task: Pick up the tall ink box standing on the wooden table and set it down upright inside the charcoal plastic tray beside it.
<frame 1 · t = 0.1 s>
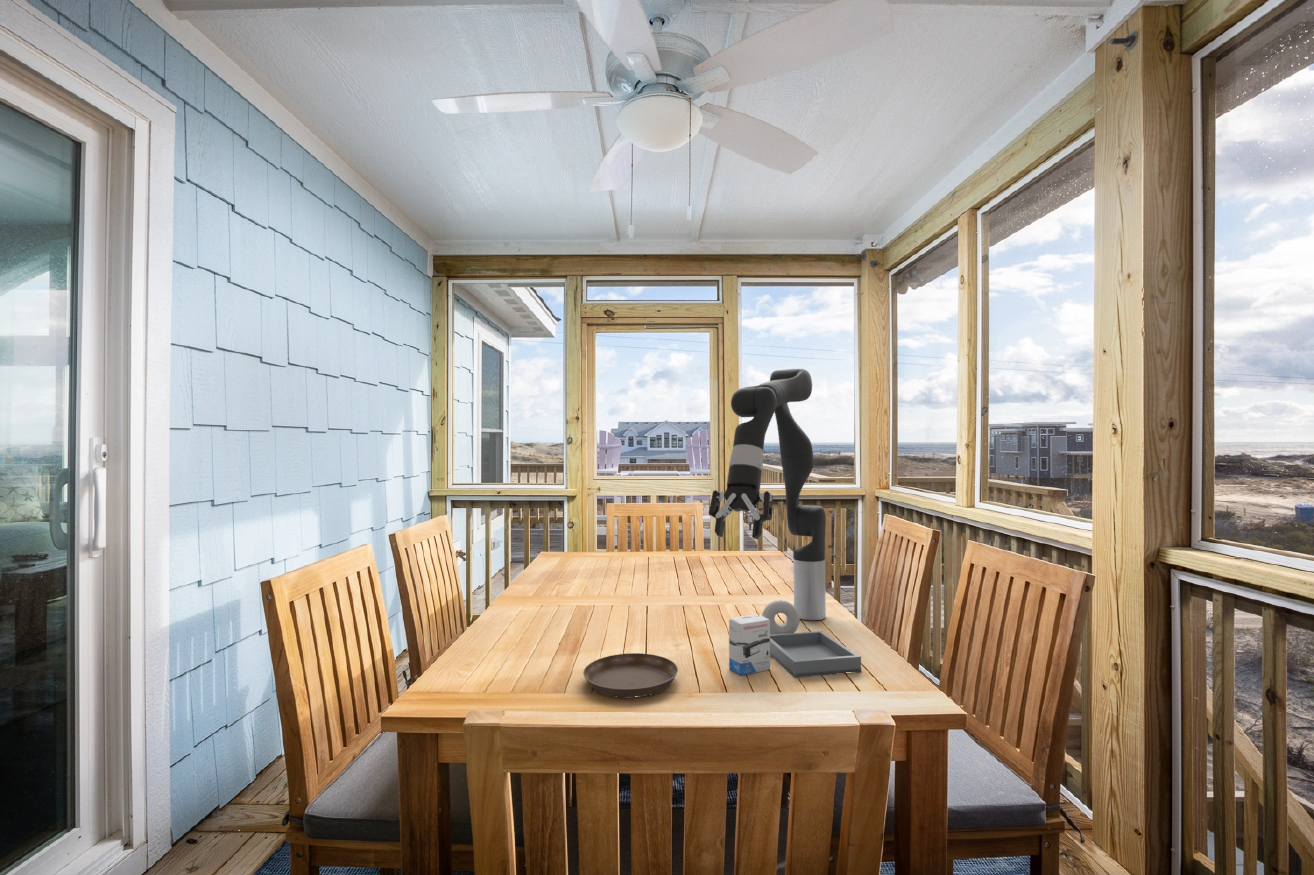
hand: (736, 537, 139), 31 cm above the table, tool tilted 20°, fingers open, 8 cm apart
tray: (809, 659, 150), on the table
ink box: (749, 670, 144), on the table
plant saucer: (630, 684, 137), on the table
donut: (780, 638, 168), on the table
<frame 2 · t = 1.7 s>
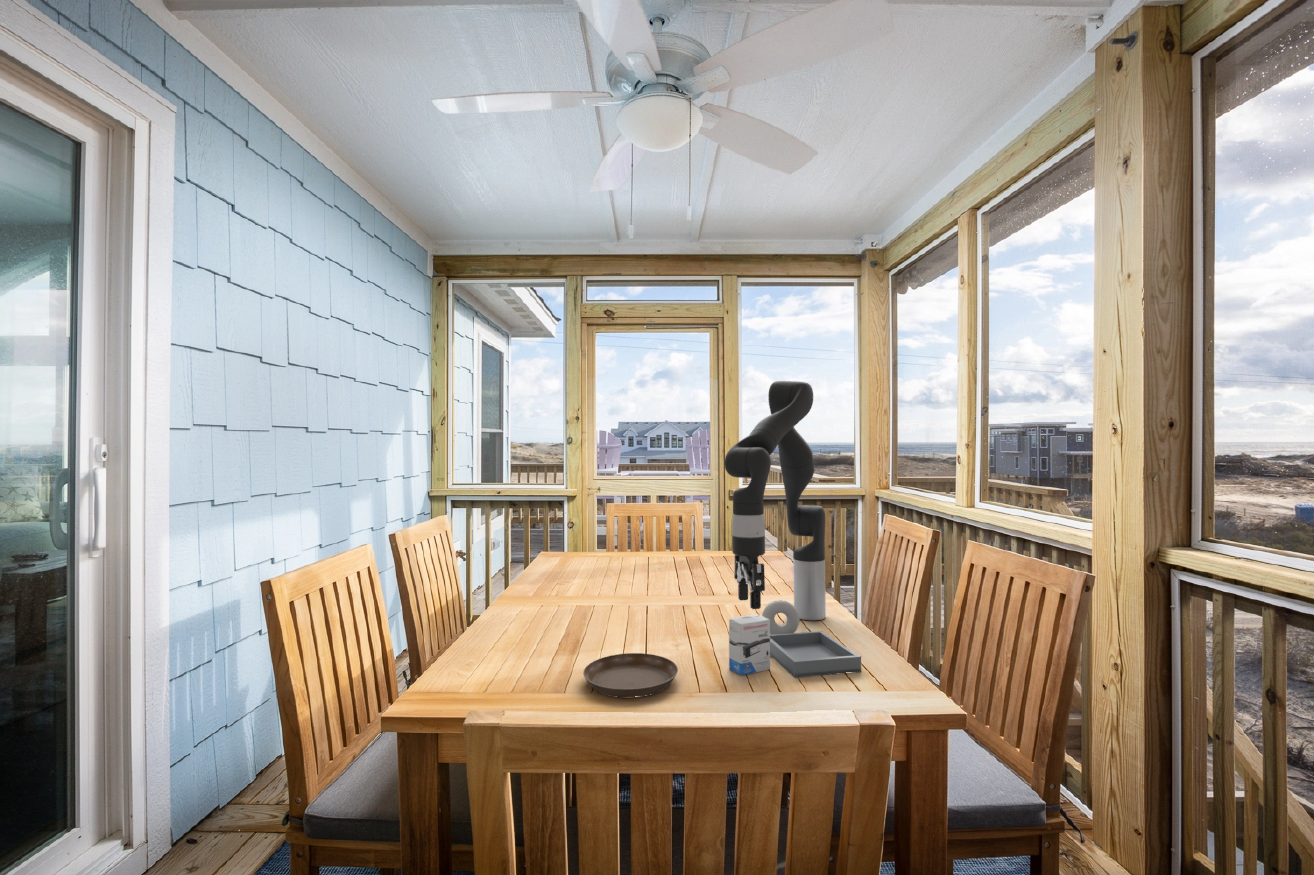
hand: (749, 604, 145), 15 cm above the table, tool pointing down, fingers open, 8 cm apart
nothing on the table moved.
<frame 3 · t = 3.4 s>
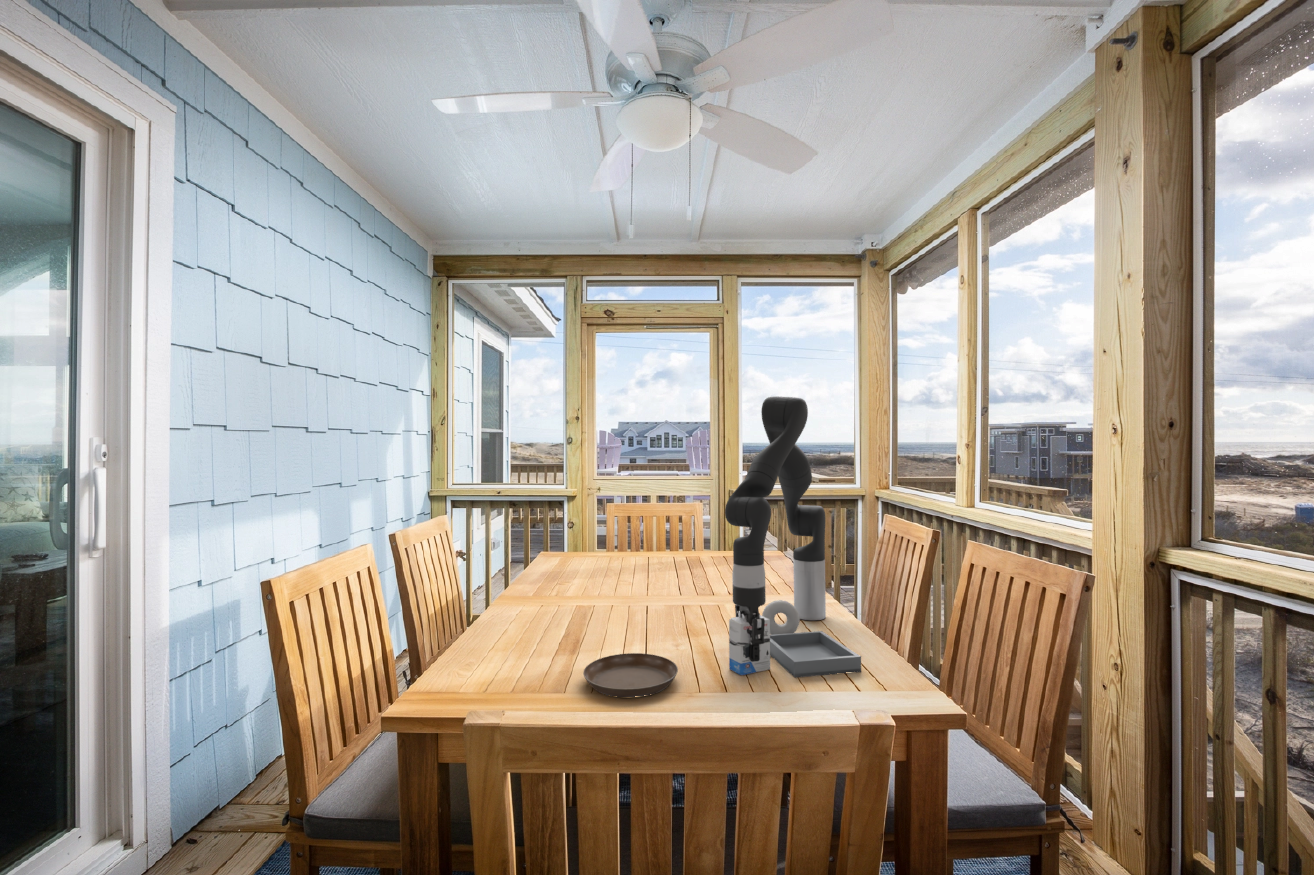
hand: (749, 655, 144), 3 cm above the table, tool pointing down, fingers closed on ink box, 6 cm apart
ink box: (750, 670, 144), on the table, touching gripper
everything else where it was.
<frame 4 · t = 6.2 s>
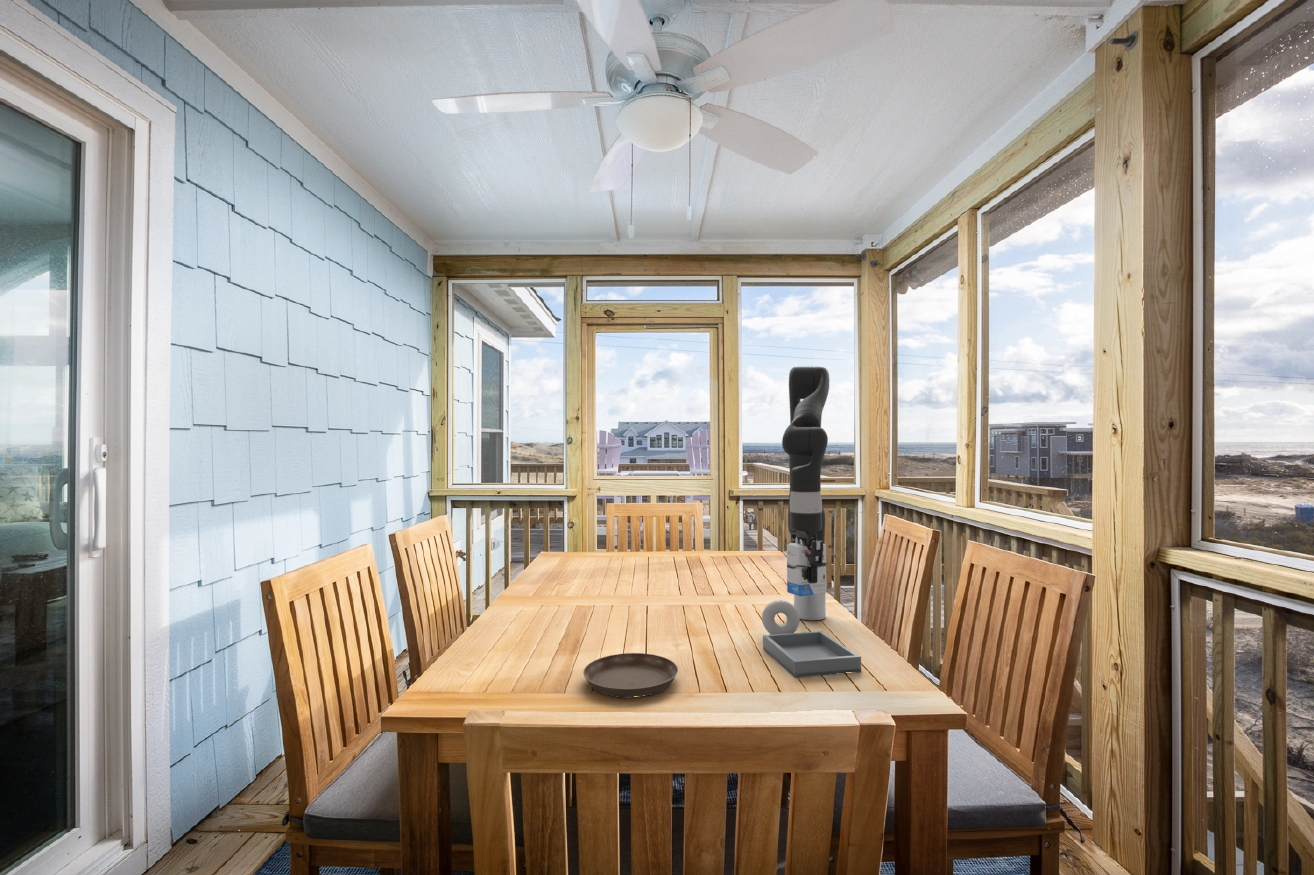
hand: (806, 579, 151), 19 cm above the table, tool pointing down, fingers closed on ink box, 5 cm apart
ink box: (807, 593, 151), point 16 cm above the table, touching gripper
everything else where it was.
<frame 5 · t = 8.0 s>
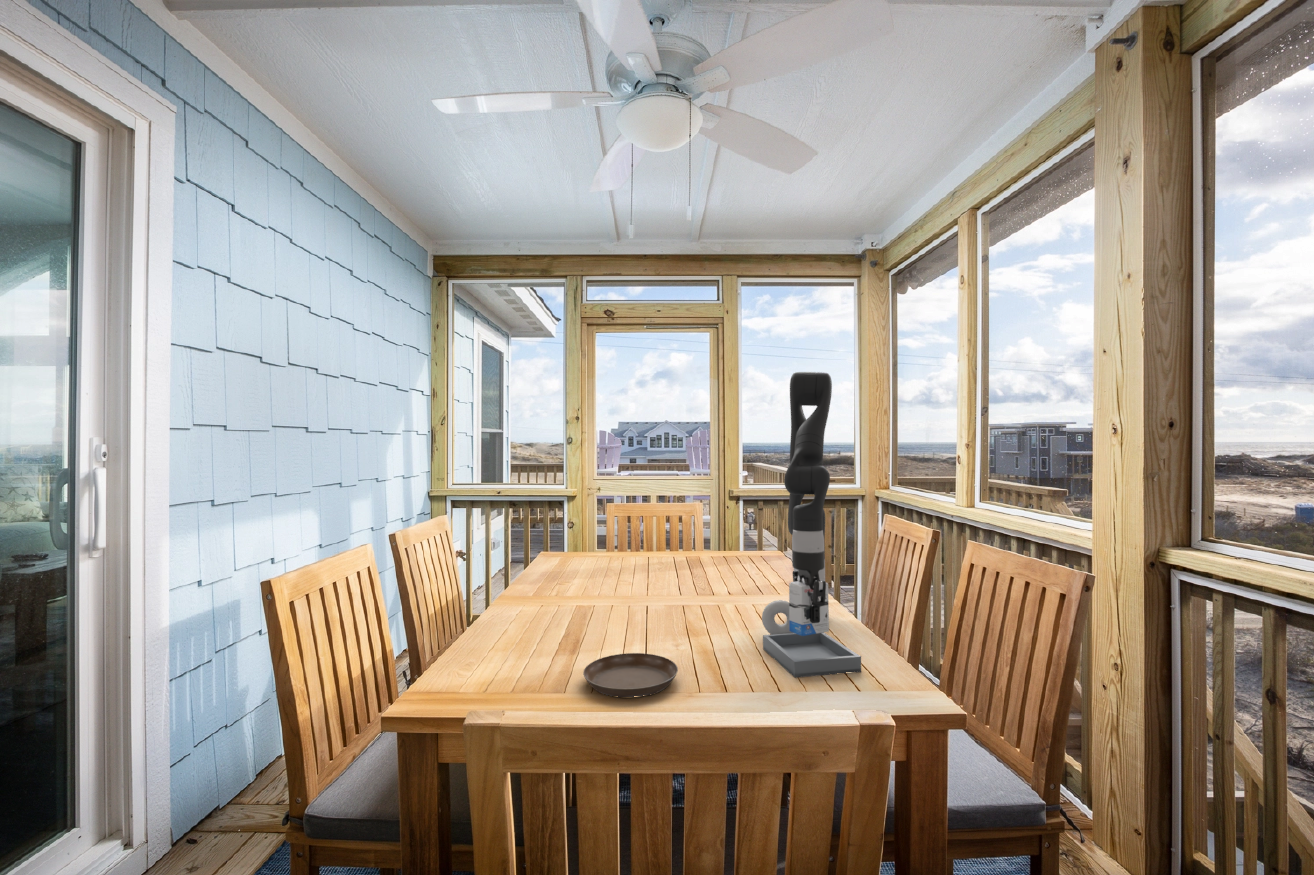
hand: (809, 618, 150), 10 cm above the table, tool pointing down, fingers closed on ink box, 5 cm apart
ink box: (809, 632, 150), point 7 cm above the table, touching gripper
everything else where it was.
when the fingers open (5 cm above the table, at t = 9.4 s): ink box drops 2 cm, resting on tray.
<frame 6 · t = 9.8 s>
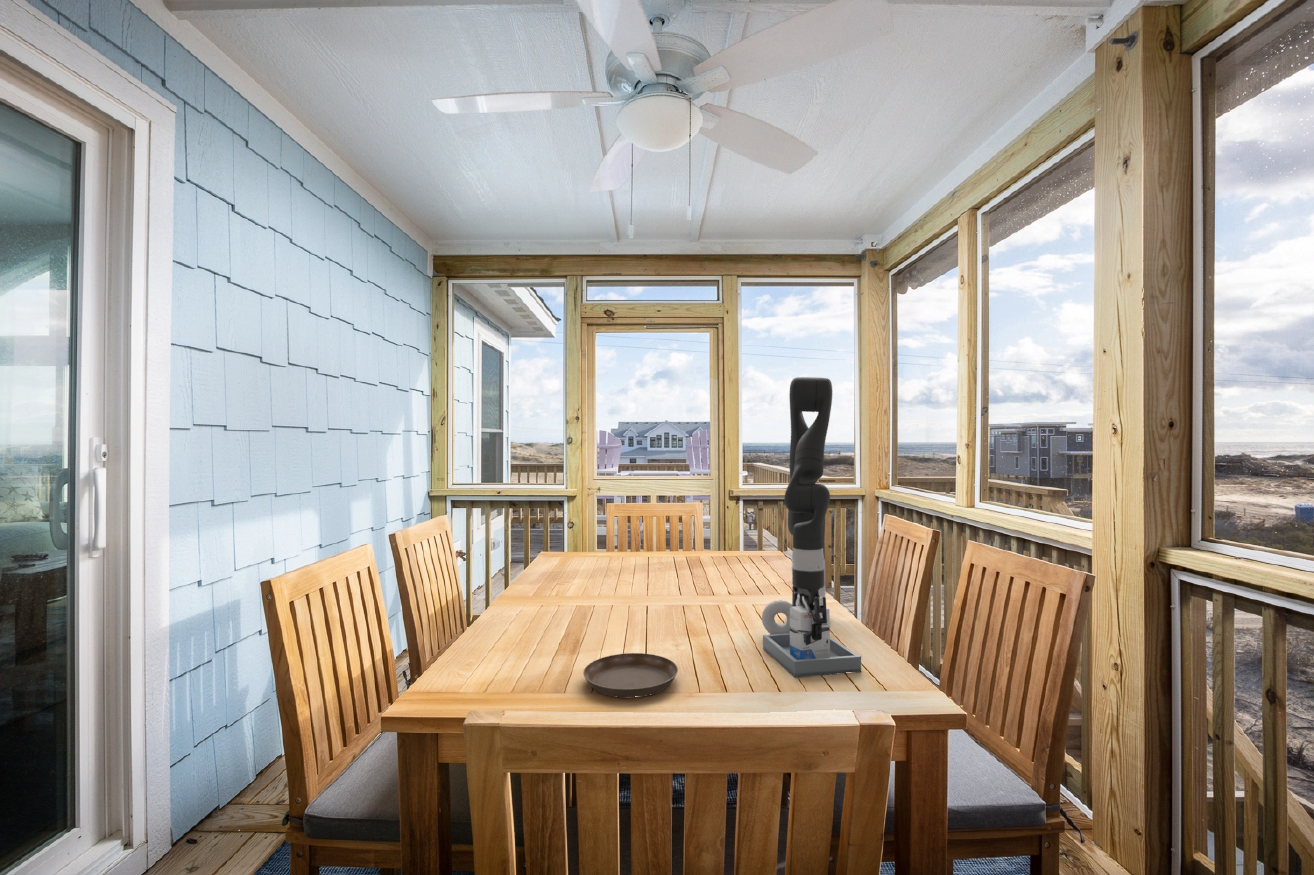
hand: (809, 634, 150), 6 cm above the table, tool pointing down, fingers open, 8 cm apart
ink box: (810, 657, 150), point 1 cm above the table, touching tray
everything else where it was.
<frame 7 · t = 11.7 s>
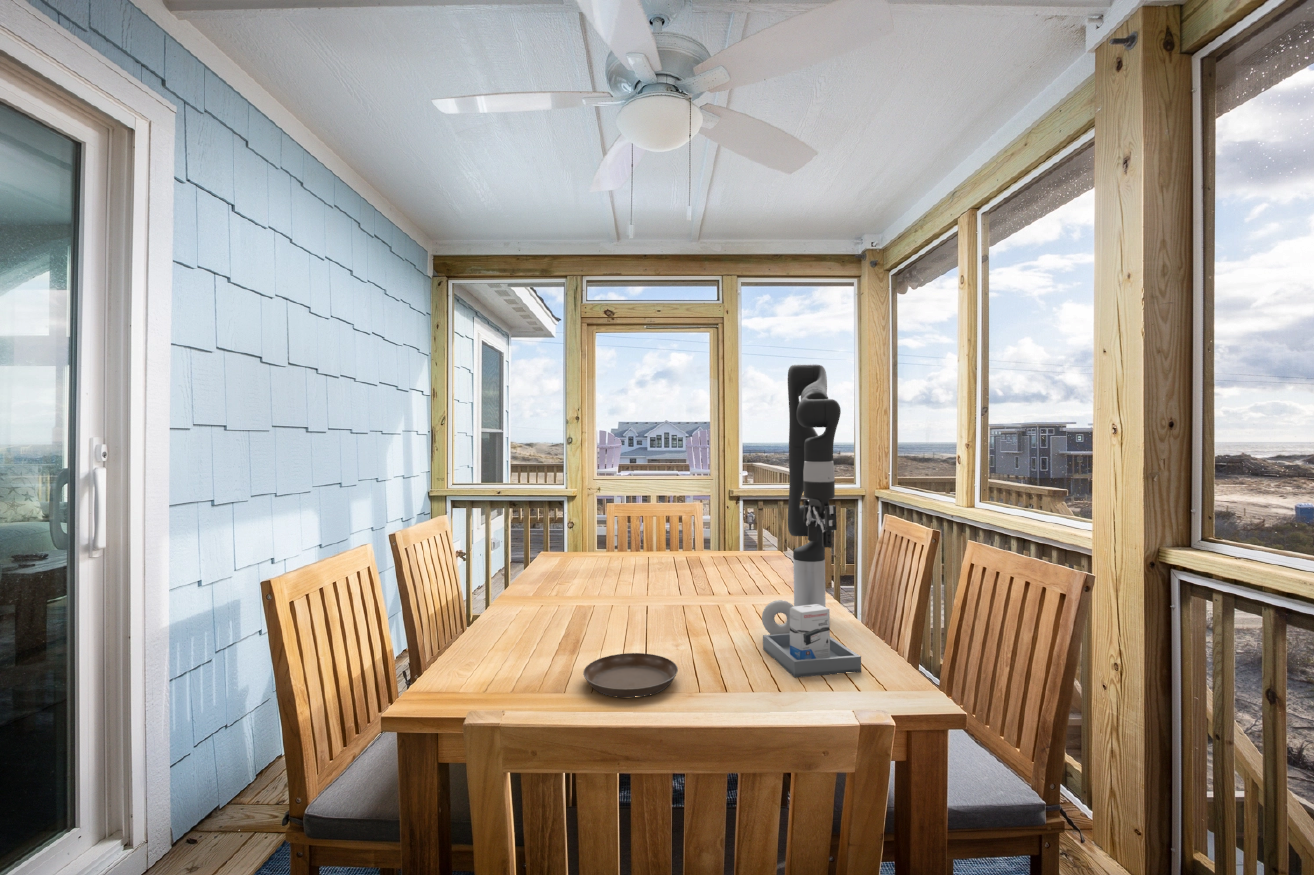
hand: (819, 543, 157), 27 cm above the table, tool pointing down, fingers open, 8 cm apart
nothing on the table moved.
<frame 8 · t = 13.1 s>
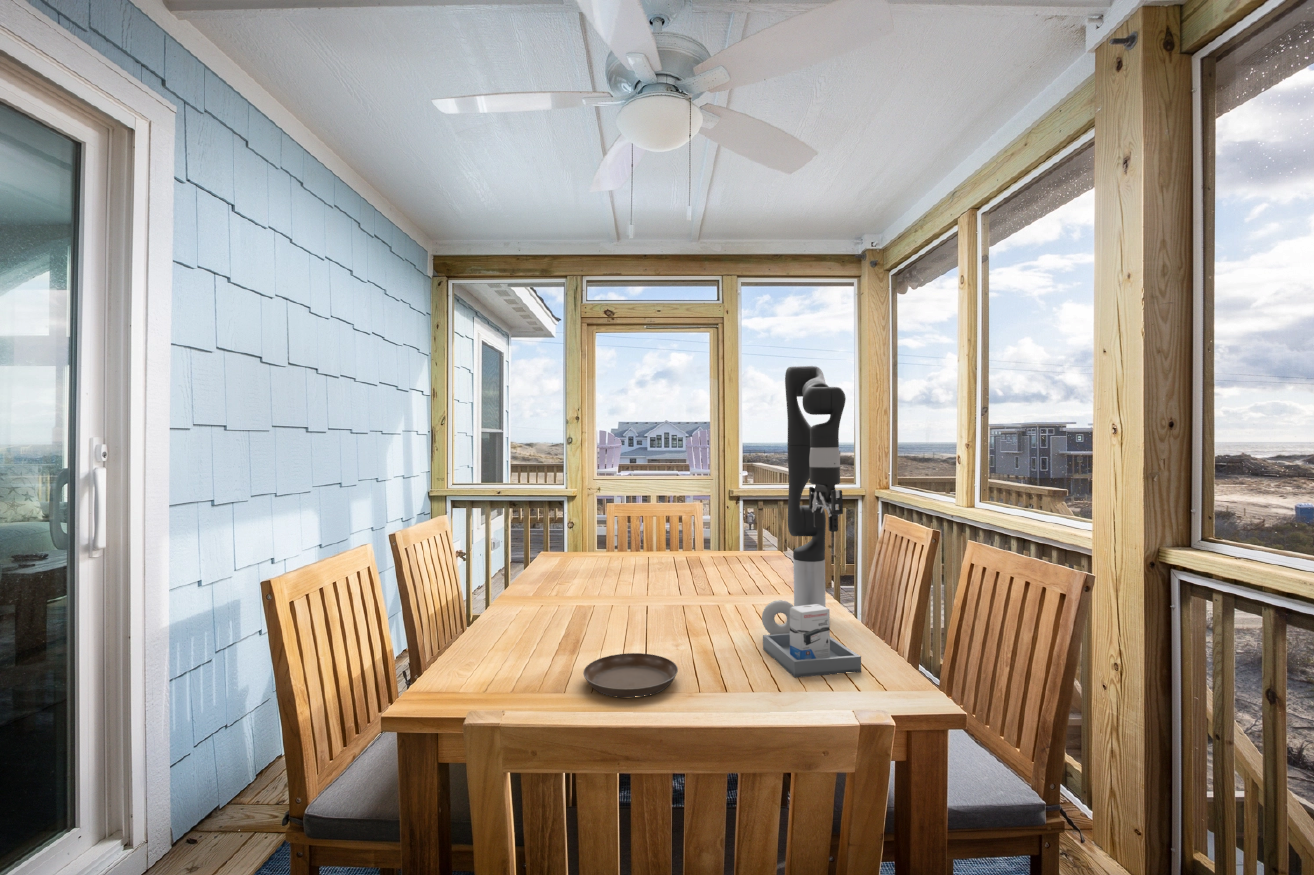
hand: (825, 529, 159), 30 cm above the table, tool pointing down, fingers open, 8 cm apart
nothing on the table moved.
at the end: ink box inside the target area on the tray (0.2 cm from its centre), point 0.6 cm above the tray's base; ink box tilted 0°; the gripper is holding nothing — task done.
